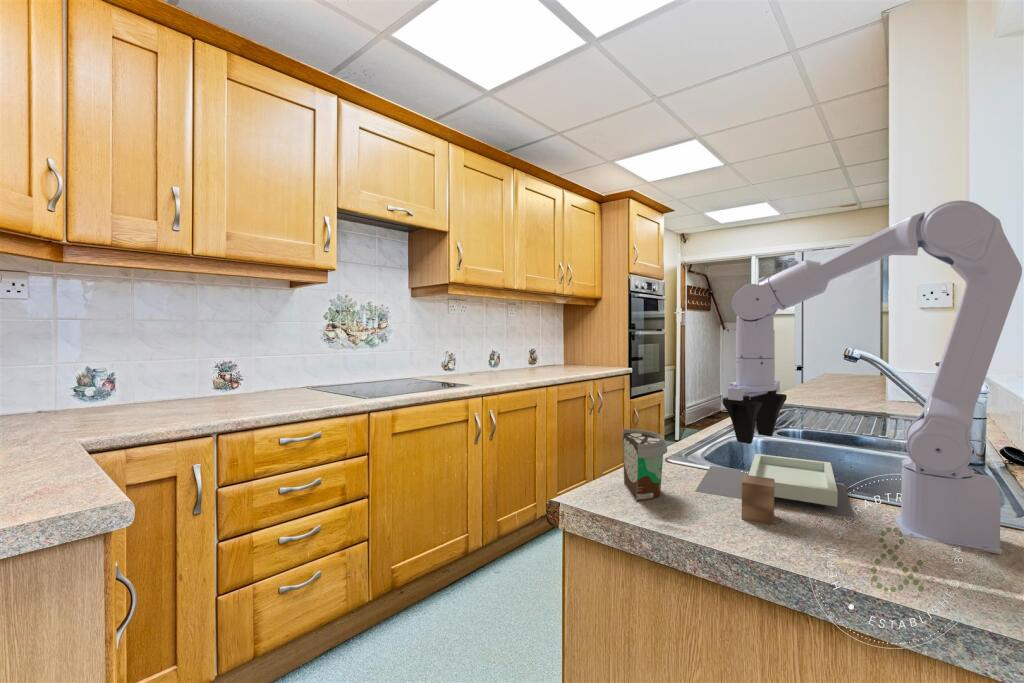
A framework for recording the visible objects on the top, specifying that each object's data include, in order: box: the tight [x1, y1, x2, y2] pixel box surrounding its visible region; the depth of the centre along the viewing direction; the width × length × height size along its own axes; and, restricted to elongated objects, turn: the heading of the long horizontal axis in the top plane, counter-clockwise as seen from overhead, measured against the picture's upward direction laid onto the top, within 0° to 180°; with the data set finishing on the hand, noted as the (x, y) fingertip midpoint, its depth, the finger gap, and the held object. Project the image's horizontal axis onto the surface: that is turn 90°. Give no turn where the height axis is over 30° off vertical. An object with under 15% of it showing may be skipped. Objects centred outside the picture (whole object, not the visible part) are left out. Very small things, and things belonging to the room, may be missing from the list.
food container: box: [621, 428, 668, 504], centre depth 80 cm, size 12×6×10 cm, turn 179°
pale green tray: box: [749, 453, 838, 508], centre depth 79 cm, size 12×17×4 cm
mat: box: [694, 465, 855, 519], centre depth 81 cm, size 22×17×1 cm
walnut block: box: [741, 475, 775, 526], centre depth 68 cm, size 4×4×6 cm
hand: (755, 438), depth 77 cm, fingers open, 7 cm apart
